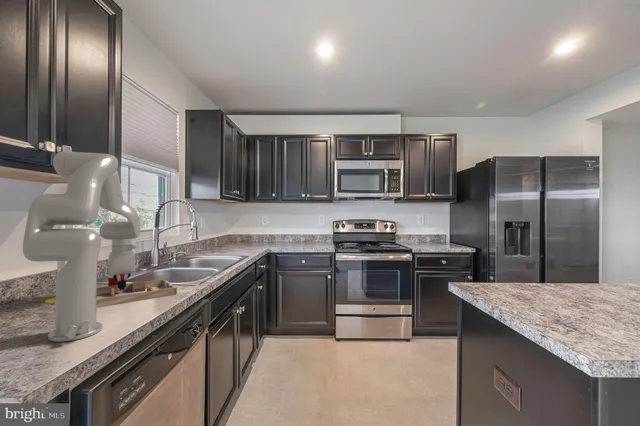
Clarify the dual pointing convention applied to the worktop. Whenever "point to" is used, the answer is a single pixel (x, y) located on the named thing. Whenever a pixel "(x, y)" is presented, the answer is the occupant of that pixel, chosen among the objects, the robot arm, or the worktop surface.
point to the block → (138, 286)
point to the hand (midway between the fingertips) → (121, 289)
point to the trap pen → (136, 296)
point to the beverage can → (114, 281)
